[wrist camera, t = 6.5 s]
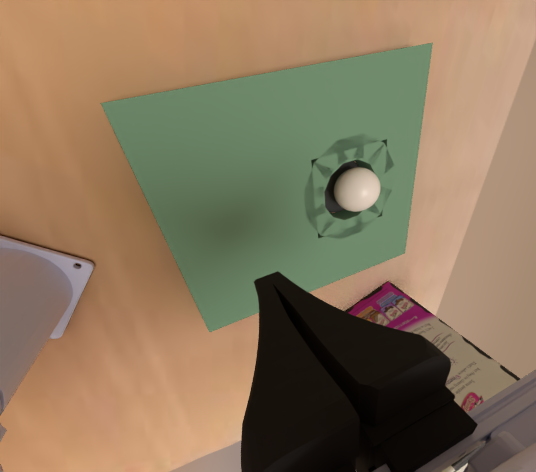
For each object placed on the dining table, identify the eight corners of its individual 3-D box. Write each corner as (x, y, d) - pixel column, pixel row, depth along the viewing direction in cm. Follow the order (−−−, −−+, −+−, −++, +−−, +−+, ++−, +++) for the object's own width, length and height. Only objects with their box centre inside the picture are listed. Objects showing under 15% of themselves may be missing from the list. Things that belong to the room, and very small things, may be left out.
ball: (393, 182, 21) (354, 179, 24) (378, 158, 18) (336, 158, 21) (376, 222, 21) (339, 214, 24) (358, 203, 18) (319, 197, 21)
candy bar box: (335, 342, 34) (441, 492, 20) (324, 324, 31) (437, 484, 17) (395, 299, 35) (540, 417, 21) (389, 279, 32) (550, 398, 18)
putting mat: (207, 317, 24) (209, 332, 23) (110, 105, 15) (100, 103, 13) (391, 245, 29) (404, 253, 27) (410, 49, 19) (432, 42, 18)
